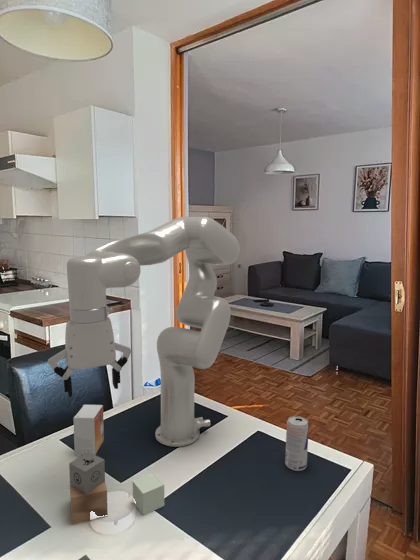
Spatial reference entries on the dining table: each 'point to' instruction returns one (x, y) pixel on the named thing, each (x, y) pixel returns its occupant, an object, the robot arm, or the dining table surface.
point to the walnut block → (88, 503)
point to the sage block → (148, 493)
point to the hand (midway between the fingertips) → (93, 390)
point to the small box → (88, 429)
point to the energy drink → (296, 443)
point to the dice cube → (87, 472)
